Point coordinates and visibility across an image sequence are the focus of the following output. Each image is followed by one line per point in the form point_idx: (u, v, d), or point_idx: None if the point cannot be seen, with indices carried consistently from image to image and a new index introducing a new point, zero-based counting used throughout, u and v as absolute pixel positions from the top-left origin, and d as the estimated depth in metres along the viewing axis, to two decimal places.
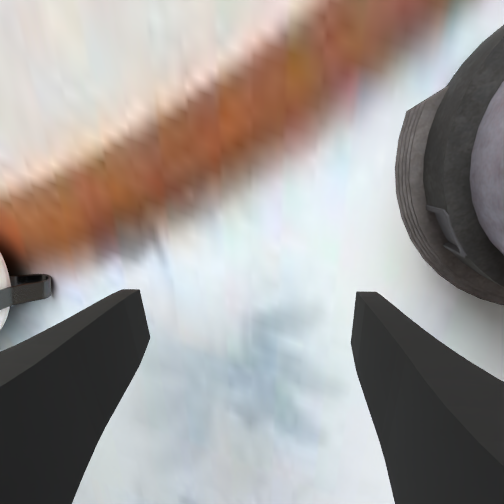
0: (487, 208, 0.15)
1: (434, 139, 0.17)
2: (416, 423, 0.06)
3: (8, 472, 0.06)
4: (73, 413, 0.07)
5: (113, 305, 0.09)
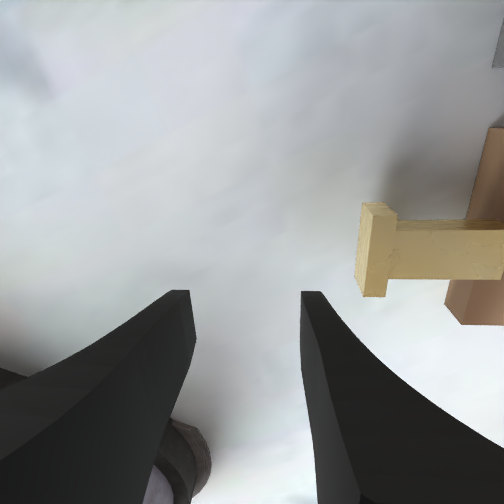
0: None
1: None
2: (323, 418, 0.06)
3: (97, 479, 0.05)
4: (142, 417, 0.07)
5: (171, 306, 0.09)
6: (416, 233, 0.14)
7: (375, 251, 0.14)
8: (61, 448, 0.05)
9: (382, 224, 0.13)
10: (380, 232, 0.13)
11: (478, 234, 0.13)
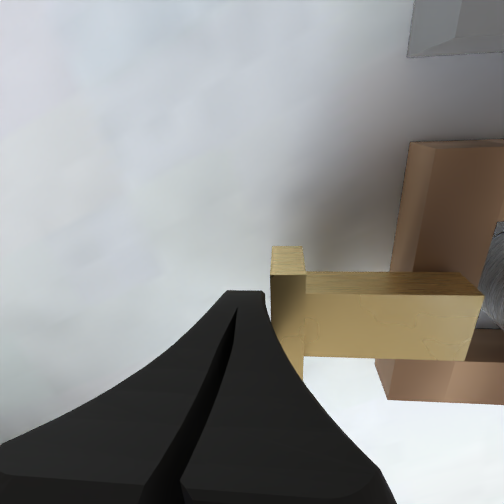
0: None
1: None
2: None
3: None
4: None
5: (236, 307, 0.09)
6: (339, 297, 0.09)
7: (280, 322, 0.09)
8: (183, 456, 0.04)
9: (285, 287, 0.09)
10: (284, 297, 0.09)
11: (428, 301, 0.09)
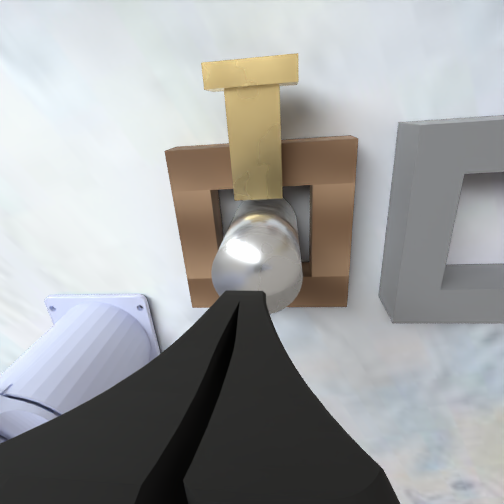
0: None
1: None
2: None
3: None
4: None
5: (235, 307, 0.09)
6: (276, 110, 0.14)
7: (257, 65, 0.13)
8: (181, 456, 0.04)
9: (288, 66, 0.13)
10: (279, 66, 0.13)
11: (277, 168, 0.15)
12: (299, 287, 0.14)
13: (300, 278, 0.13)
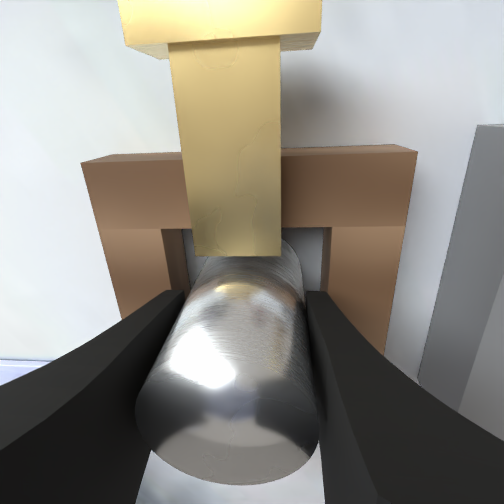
0: None
1: None
2: (332, 419, 0.06)
3: (87, 478, 0.05)
4: (134, 416, 0.07)
5: (165, 306, 0.09)
6: (273, 93, 0.07)
7: None
8: (50, 447, 0.05)
9: None
10: None
11: (272, 203, 0.08)
12: (311, 450, 0.07)
13: (314, 437, 0.07)
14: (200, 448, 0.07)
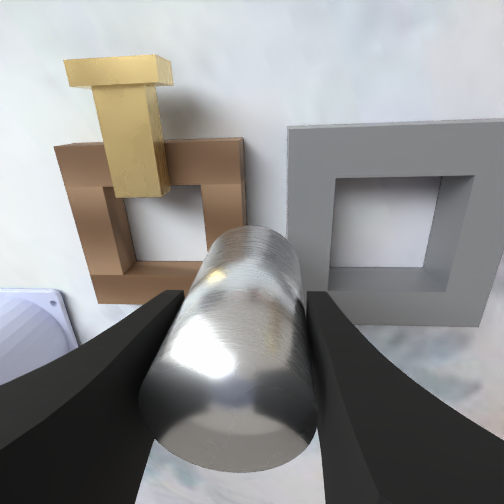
0: None
1: None
2: (333, 419, 0.06)
3: (87, 478, 0.05)
4: (134, 416, 0.07)
5: (164, 306, 0.09)
6: (144, 109, 0.14)
7: (118, 64, 0.13)
8: (49, 447, 0.05)
9: (147, 66, 0.13)
10: (139, 66, 0.13)
11: (152, 166, 0.15)
12: (309, 438, 0.07)
13: (312, 424, 0.07)
14: (201, 436, 0.07)
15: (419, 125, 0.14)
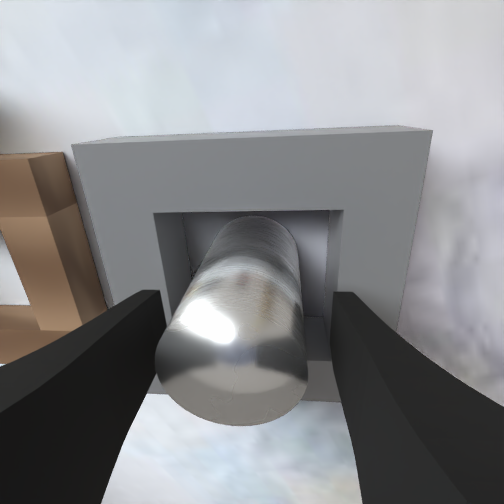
0: None
1: None
2: (377, 421, 0.06)
3: (44, 475, 0.06)
4: (101, 415, 0.07)
5: (137, 306, 0.09)
6: None
7: None
8: None
9: None
10: None
11: None
12: (301, 392, 0.08)
13: (304, 380, 0.08)
14: (208, 391, 0.08)
15: (251, 138, 0.09)
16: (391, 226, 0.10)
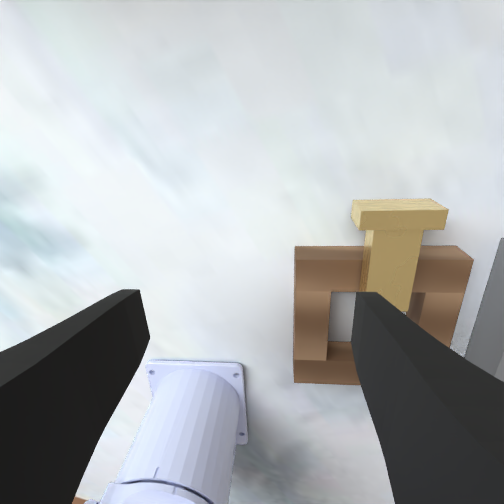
0: None
1: None
2: (416, 423, 0.06)
3: (8, 472, 0.06)
4: (73, 413, 0.07)
5: (113, 305, 0.09)
6: (416, 246, 0.16)
7: (410, 215, 0.15)
8: None
9: (438, 218, 0.15)
10: (430, 217, 0.15)
11: (408, 289, 0.17)
12: None
13: None
14: None
15: None
16: None
